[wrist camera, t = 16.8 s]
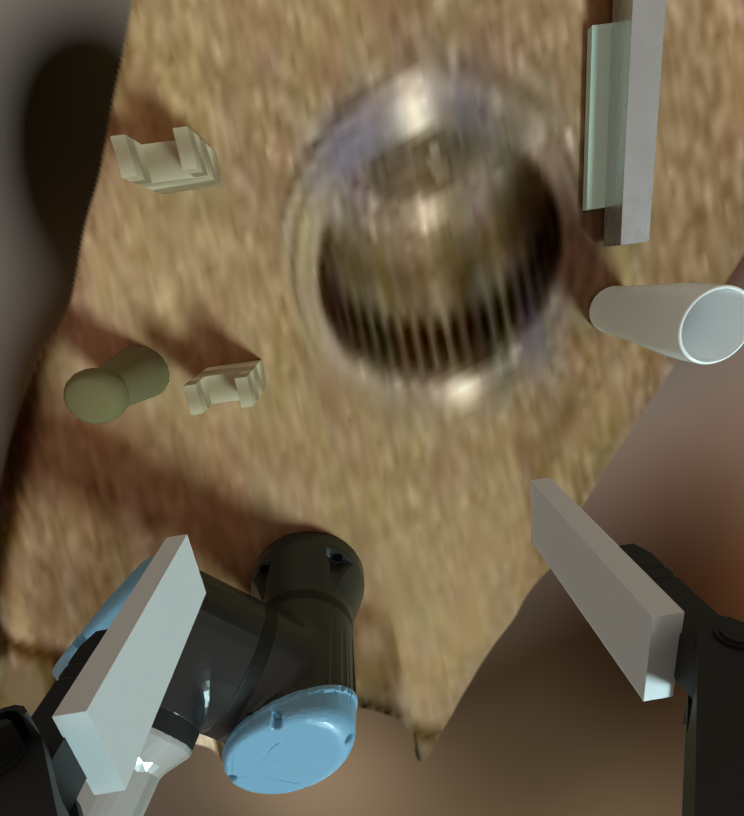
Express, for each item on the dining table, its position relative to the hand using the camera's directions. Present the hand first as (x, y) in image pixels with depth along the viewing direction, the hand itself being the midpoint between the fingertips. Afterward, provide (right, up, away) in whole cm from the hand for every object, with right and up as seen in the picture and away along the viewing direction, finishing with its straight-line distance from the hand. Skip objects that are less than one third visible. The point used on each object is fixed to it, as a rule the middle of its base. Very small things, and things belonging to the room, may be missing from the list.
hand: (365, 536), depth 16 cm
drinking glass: (+28, +17, +33) cm, 47 cm away
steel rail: (+26, +34, +26) cm, 50 cm away
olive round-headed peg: (-26, +9, +32) cm, 42 cm away
